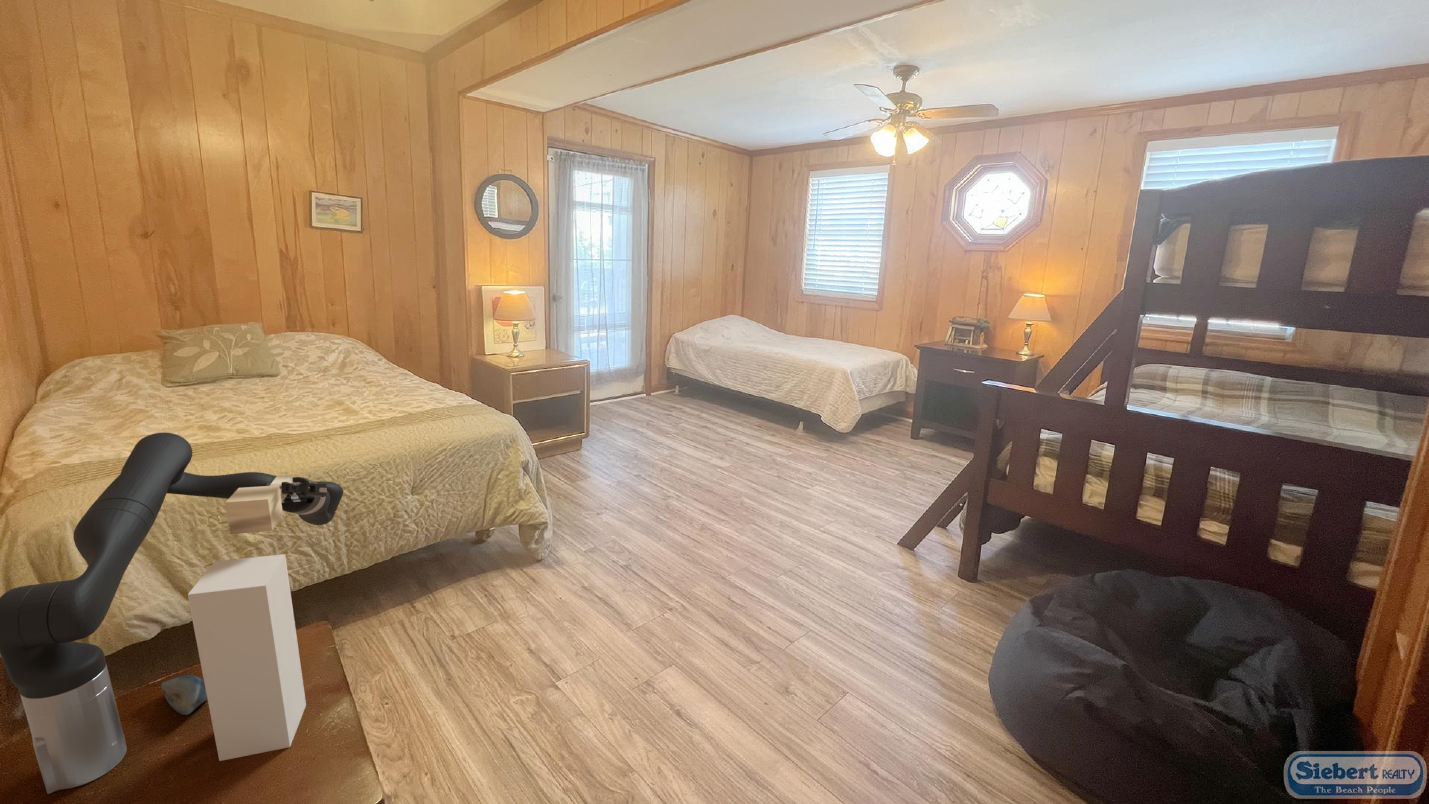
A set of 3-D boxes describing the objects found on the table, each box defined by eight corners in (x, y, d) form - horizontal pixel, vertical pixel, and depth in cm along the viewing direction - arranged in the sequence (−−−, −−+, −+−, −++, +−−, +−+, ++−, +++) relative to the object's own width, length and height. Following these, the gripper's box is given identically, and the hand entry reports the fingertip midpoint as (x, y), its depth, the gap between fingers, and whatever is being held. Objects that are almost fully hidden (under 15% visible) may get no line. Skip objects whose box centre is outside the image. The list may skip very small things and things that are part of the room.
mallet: (272, 530, 103) (267, 499, 101) (230, 534, 101) (225, 502, 99) (303, 485, 120) (300, 458, 119) (268, 488, 118) (264, 460, 117)
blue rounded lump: (176, 670, 114) (142, 677, 104) (230, 672, 116) (201, 679, 106) (164, 706, 112) (128, 717, 102) (219, 708, 114) (189, 718, 104)
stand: (290, 747, 102) (265, 585, 94) (219, 761, 99) (187, 594, 90) (306, 705, 111) (285, 554, 103) (241, 716, 108) (214, 561, 99)
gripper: (264, 481, 127) (230, 470, 111) (338, 477, 132) (317, 466, 116) (262, 516, 125) (228, 510, 109) (337, 510, 130) (315, 504, 114)
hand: (274, 487), depth 113 cm, fingers closed on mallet, 2 cm apart
